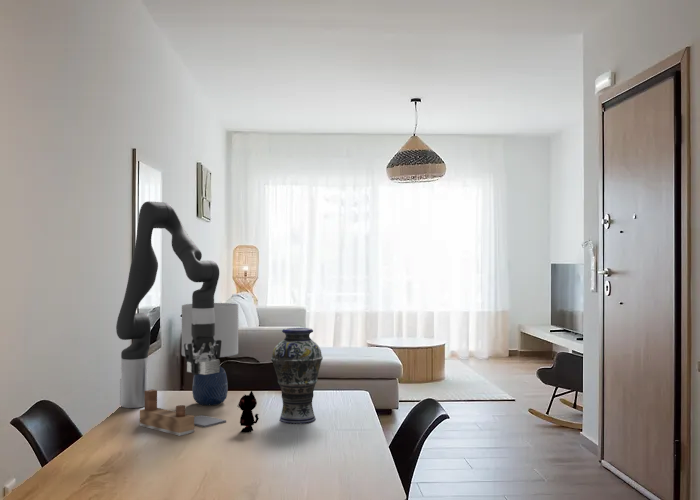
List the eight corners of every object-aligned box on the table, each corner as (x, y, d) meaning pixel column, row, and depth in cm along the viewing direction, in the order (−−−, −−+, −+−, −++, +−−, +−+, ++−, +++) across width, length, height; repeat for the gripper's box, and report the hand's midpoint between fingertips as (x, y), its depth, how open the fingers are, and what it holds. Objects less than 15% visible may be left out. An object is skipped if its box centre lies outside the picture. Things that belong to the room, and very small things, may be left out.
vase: (261, 423, 225) (261, 330, 225) (286, 412, 241) (286, 325, 241) (308, 428, 219) (308, 332, 219) (330, 416, 235) (330, 327, 235)
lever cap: (187, 371, 227) (187, 357, 228) (201, 369, 232) (201, 355, 232) (205, 374, 222) (205, 360, 222) (219, 372, 227) (219, 358, 227)
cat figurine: (241, 427, 219) (241, 389, 220) (262, 428, 218) (262, 390, 218) (233, 433, 213) (233, 393, 213) (254, 434, 211) (254, 394, 211)
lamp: (232, 410, 245) (232, 305, 245) (175, 409, 245) (175, 305, 245) (242, 398, 265) (242, 301, 265) (189, 398, 265) (189, 301, 266)
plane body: (139, 425, 222) (139, 391, 222) (154, 422, 226) (154, 388, 226) (179, 435, 210) (179, 399, 210) (194, 432, 214) (194, 396, 214)
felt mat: (180, 421, 227) (180, 420, 227) (201, 416, 234) (201, 415, 234) (204, 427, 220) (204, 425, 220) (226, 422, 227) (226, 420, 227)
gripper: (212, 319, 235) (212, 369, 235) (177, 322, 224) (177, 375, 224) (227, 320, 231) (227, 371, 230) (193, 324, 219) (193, 377, 219)
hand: (203, 373), depth 227 cm, fingers closed on lever cap, 6 cm apart
